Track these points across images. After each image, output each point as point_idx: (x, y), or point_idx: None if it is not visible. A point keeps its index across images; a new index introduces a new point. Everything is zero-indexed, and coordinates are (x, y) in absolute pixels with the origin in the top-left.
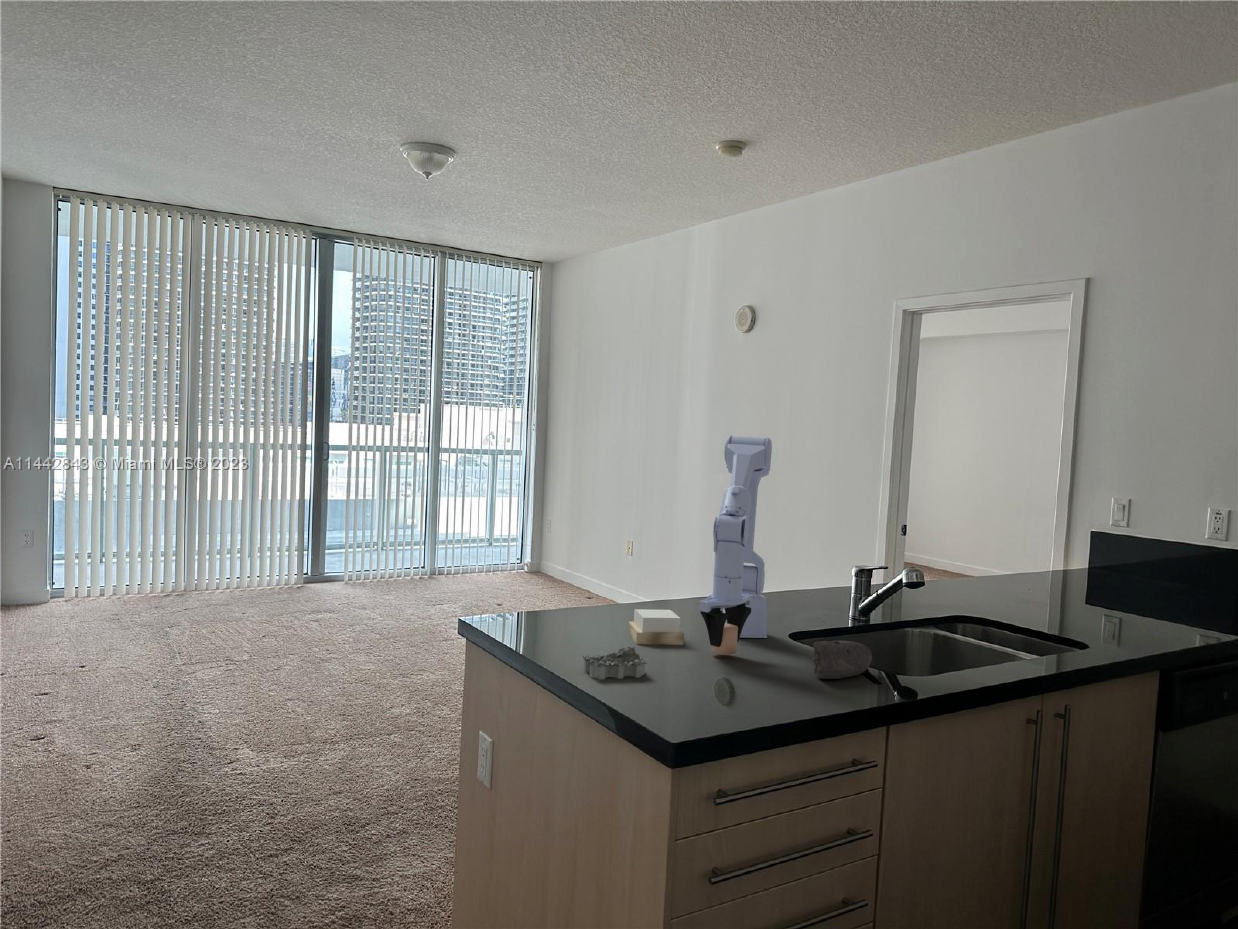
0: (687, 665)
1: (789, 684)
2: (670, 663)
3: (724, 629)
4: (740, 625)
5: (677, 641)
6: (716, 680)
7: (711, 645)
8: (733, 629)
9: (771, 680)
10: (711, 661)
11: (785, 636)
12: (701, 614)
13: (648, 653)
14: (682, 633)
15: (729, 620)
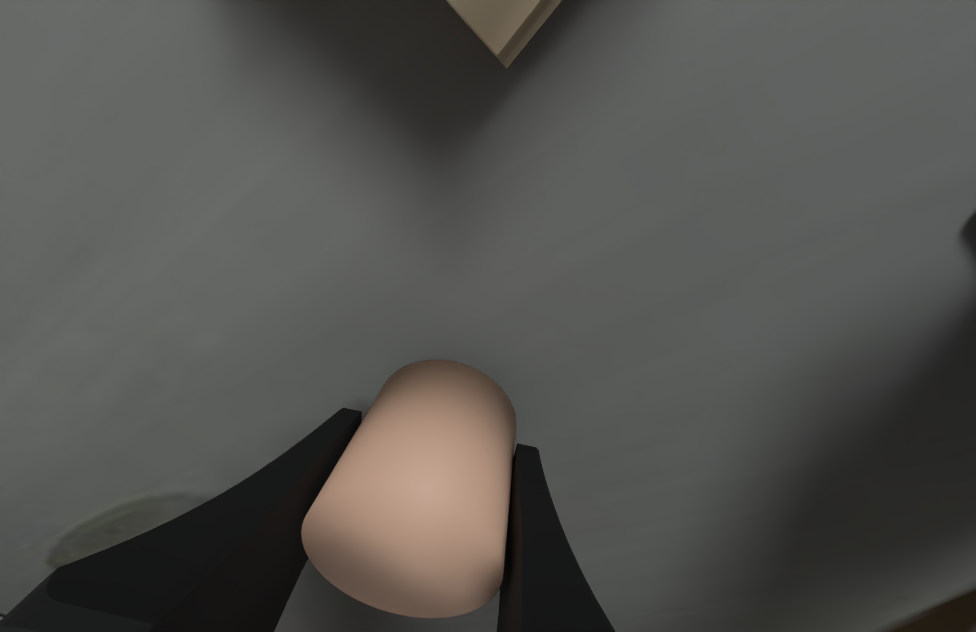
0: (178, 348)
1: (345, 626)
2: (115, 275)
3: (323, 572)
4: (497, 628)
5: (464, 20)
6: (162, 493)
7: (390, 386)
8: (380, 605)
9: (331, 592)
10: (331, 393)
11: None
12: (79, 562)
13: (95, 38)
14: (485, 41)
15: (515, 584)
